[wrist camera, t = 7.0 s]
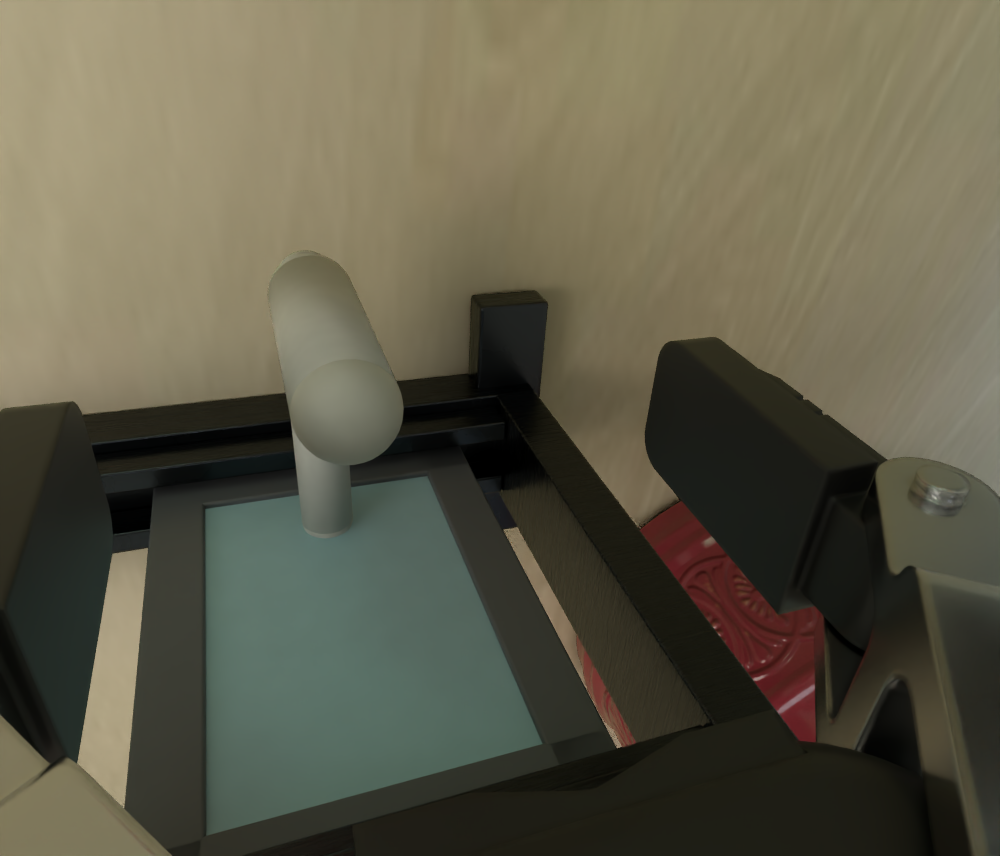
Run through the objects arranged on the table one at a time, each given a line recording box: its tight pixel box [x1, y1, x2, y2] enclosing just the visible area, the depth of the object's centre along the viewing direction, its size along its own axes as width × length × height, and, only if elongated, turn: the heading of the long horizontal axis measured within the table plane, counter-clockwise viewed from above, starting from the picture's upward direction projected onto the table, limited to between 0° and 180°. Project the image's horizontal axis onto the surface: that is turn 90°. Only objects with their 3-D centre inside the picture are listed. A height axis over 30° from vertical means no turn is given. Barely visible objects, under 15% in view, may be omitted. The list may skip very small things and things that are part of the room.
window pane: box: [124, 251, 617, 856], centre depth 14 cm, size 8×7×11 cm
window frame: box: [82, 291, 799, 856], centre depth 15 cm, size 19×8×14 cm, turn 87°
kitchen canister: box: [577, 501, 821, 747], centre depth 25 cm, size 13×13×18 cm
